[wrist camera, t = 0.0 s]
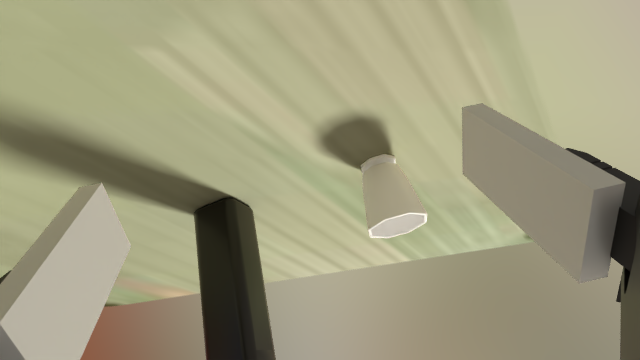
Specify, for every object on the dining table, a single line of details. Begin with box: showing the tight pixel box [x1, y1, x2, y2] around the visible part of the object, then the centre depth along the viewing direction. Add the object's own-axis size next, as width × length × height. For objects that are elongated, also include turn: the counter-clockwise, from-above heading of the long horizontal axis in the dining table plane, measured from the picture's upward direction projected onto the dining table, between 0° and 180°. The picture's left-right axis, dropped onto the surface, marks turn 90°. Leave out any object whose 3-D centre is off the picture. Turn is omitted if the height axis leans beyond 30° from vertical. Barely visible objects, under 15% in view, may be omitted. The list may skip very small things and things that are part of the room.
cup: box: [361, 154, 427, 238], centre depth 49 cm, size 7×10×8 cm
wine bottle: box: [194, 198, 276, 360], centre depth 44 cm, size 6×6×30 cm
